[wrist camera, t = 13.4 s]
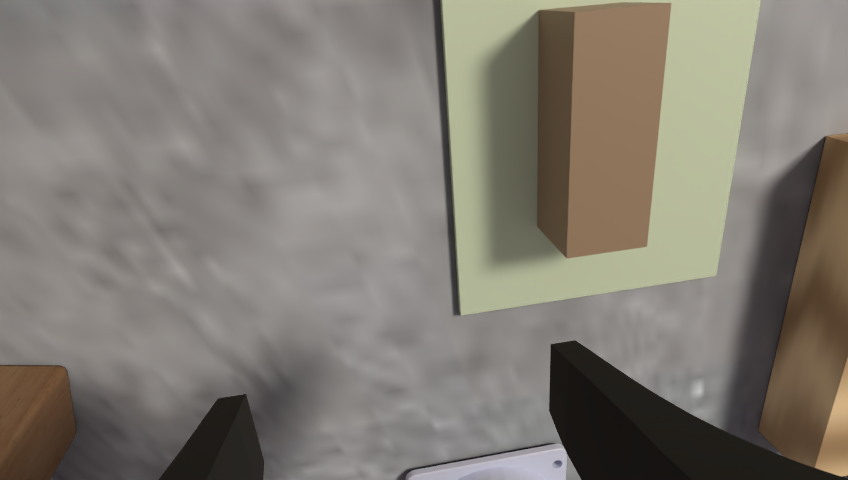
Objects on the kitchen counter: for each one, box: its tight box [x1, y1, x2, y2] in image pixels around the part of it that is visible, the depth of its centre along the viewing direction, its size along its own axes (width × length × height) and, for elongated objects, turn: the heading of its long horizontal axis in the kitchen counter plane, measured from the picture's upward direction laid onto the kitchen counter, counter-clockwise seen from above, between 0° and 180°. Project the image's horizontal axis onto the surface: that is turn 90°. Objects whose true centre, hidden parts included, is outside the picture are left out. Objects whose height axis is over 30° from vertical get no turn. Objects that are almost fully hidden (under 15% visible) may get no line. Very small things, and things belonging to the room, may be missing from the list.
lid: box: [440, 0, 761, 315], centre depth 20 cm, size 15×12×4 cm
